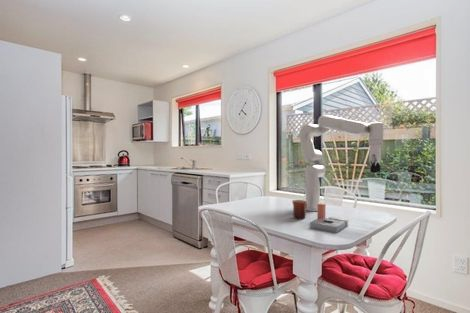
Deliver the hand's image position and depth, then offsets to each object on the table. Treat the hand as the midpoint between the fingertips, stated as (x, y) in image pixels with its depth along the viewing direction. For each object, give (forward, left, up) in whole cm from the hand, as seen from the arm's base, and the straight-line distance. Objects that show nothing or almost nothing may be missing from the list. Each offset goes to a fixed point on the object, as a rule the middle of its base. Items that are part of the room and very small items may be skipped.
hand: (375, 172), depth 162 cm
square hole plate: (-15, -34, -29) cm, 47 cm away
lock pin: (-23, -23, -29) cm, 43 cm away
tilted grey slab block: (-13, -24, -29) cm, 40 cm away
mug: (-36, -23, -29) cm, 52 cm away
